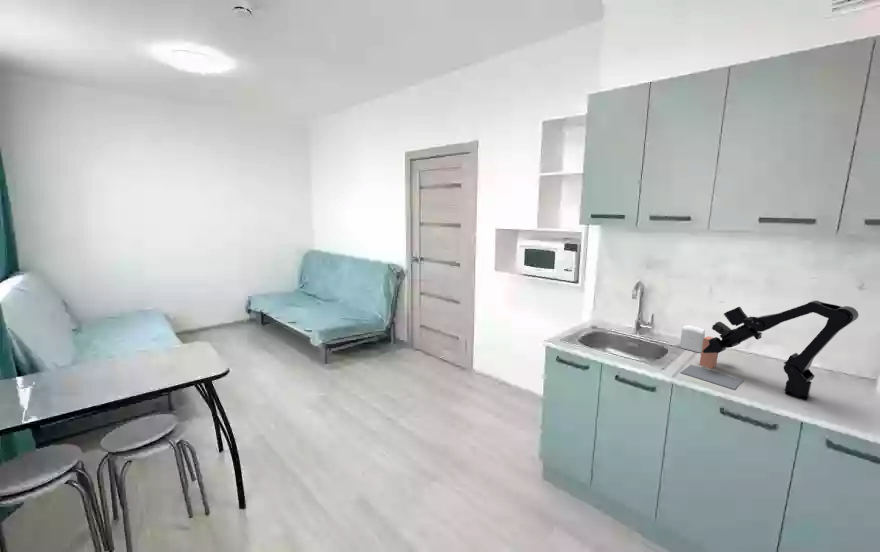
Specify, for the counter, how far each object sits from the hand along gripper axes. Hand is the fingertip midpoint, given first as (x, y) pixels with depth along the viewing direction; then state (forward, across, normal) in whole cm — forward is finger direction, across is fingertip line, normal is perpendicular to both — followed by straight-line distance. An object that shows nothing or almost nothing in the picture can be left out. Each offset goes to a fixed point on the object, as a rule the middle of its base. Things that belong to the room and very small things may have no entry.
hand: (708, 349), depth 182 cm
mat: (0, +12, +10) cm, 16 cm away
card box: (+5, 0, +6) cm, 7 cm away
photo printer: (+15, -14, -4) cm, 21 cm away
